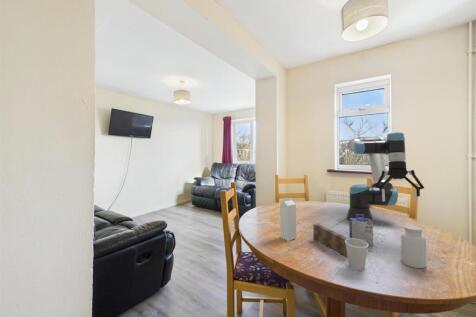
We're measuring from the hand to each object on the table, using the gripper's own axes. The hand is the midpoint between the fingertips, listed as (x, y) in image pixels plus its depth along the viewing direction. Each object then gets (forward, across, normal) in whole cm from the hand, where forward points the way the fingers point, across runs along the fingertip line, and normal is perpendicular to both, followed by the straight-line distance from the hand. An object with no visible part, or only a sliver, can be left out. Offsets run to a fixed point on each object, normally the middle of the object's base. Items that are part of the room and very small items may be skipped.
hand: (399, 202), depth 111 cm
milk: (+22, -46, -32) cm, 60 cm away
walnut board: (+23, -25, -29) cm, 44 cm away
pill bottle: (+24, +6, -22) cm, 33 cm away
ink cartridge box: (+21, -15, -14) cm, 30 cm away
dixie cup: (+26, -11, -39) cm, 48 cm away
